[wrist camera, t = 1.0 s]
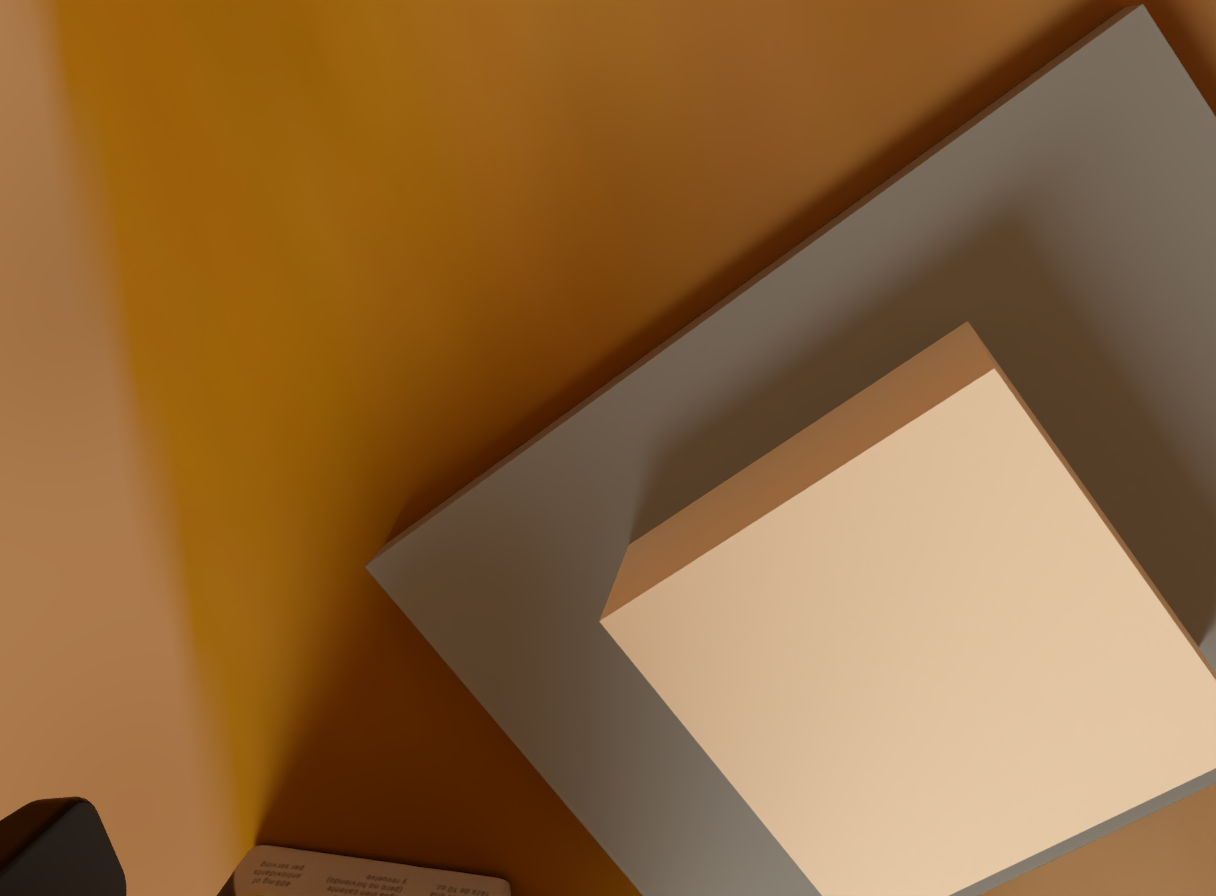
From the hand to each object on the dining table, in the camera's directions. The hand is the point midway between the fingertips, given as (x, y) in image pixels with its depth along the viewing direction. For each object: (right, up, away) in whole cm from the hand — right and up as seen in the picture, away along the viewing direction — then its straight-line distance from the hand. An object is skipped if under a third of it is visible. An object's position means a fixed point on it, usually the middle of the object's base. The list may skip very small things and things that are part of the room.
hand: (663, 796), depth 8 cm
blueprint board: (+5, 0, +13) cm, 14 cm away
